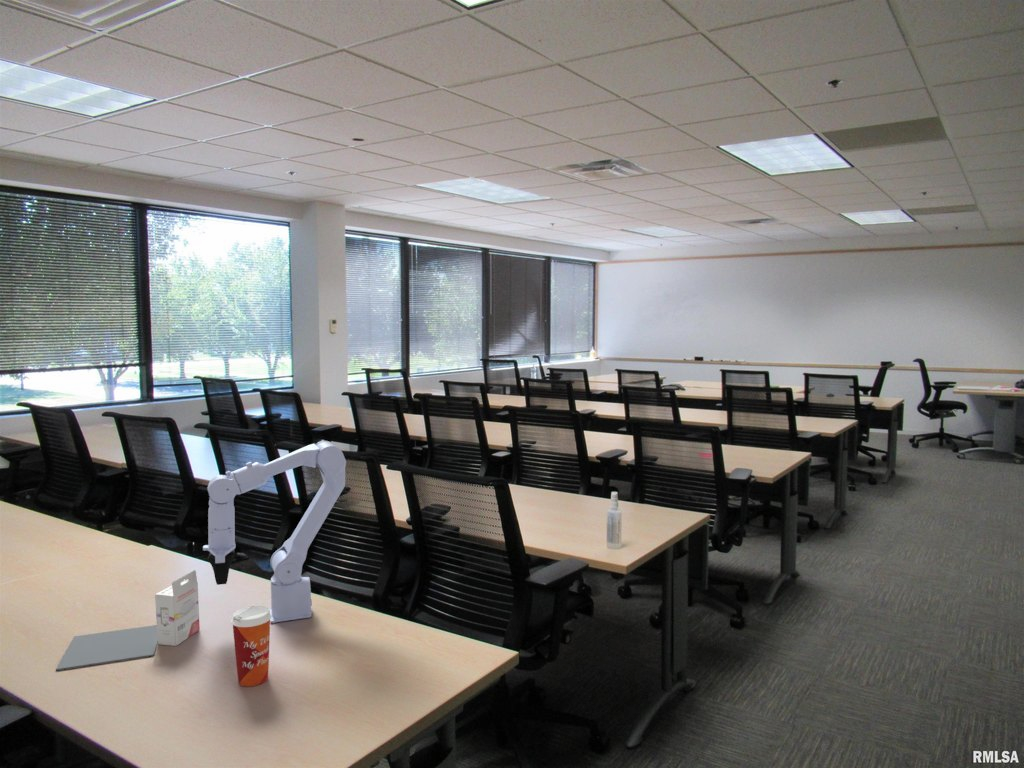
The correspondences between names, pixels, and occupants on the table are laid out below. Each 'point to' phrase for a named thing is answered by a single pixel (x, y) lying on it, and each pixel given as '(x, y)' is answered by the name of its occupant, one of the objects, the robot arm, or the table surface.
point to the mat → (110, 647)
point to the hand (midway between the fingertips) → (221, 583)
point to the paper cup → (252, 644)
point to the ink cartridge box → (178, 611)
